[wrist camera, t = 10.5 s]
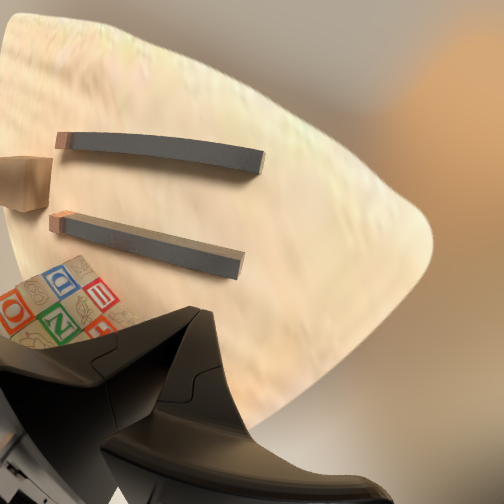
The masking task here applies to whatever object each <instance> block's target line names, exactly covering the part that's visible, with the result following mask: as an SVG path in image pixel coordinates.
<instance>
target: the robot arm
mask: <svg viewBox="0 0 504 504" xmlns="http://www.w3.org/2000/svg"><path fill="white" fill-rule="evenodd" d="M117 487H119V489H120V490H121V492H122V494H123V495H124V497H125V499H126V500H127V502H128V504H394V502H393V499H392V498H391V496H390V495H389V494H388V493H387V491H386V490H384V489H383V488H382V487H381V486H379V485H378V484H376V483H374V482H372V481H371V480H369V479H367V478H365V477H361V476H354V475H322V474H317V473H312V472H308V471H305V470H302V469H300V468H298V467H296V466H294V465H292V464H290V463H289V462H287V461H285V460H283V459H282V458H280V457H278V456H277V455H275V454H273V453H272V452H270V451H268V450H266V449H265V448H263V447H262V446H260V445H259V444H257V443H256V442H255V441H254V440H253V438H252V437H251V436H250V434H249V432H248V430H247V428H246V426H245V424H244V422H243V420H242V418H241V416H240V413H239V411H238V409H237V407H236V405H235V402H234V400H233V398H232V395H231V393H230V390H229V387H228V384H227V380H226V377H225V372H224V368H223V363H222V358H221V353H220V348H219V342H218V337H217V332H216V326H215V321H214V315H213V312H211V311H207V310H204V309H202V310H200V309H199V308H196V307H193V306H187V307H185V308H182V309H179V310H176V311H173V312H171V313H168V314H165V315H162V316H159V317H156V318H153V319H151V320H148V321H145V322H142V323H139V324H136V325H133V326H130V327H127V328H124V329H121V330H118V331H117V332H112V333H109V334H106V335H103V336H99V337H96V338H92V339H88V340H84V341H80V342H75V343H71V344H66V345H61V346H56V347H51V348H45V349H33V348H28V347H25V346H23V345H20V344H18V343H16V342H14V341H12V340H10V339H8V338H6V337H4V336H2V335H0V504H108V503H109V501H110V500H111V498H112V496H113V494H114V492H115V491H116V489H117Z"/></svg>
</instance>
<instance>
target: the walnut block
mask: <svg viewBox="0 0 504 504" xmlns="http://www.w3.org/2000/svg"><path fill="white" fill-rule="evenodd" d="M52 162H53V158H44V157H32V156H14V157H1V158H0V205H2V206H4V207H7V208H10V209H13V210H16V211H19V212H22V213H23V212H27V211H31V210H35V209H39V208H43V207H47V206H49V191H50V180H51V170H52Z"/></svg>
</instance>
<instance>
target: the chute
mask: <svg viewBox="0 0 504 504" xmlns="http://www.w3.org/2000/svg"><path fill="white" fill-rule="evenodd" d="M55 149H74V150H92V151H106V152H118V153H129V154H139V155H148V156H156V157H164V158H172V159H179V160H186V161H192V162H199V163H205V164H211V165H217V166H223V167H228V168H234V169H239V170H244V171H249V172H254V173H259V174H262V169H263V164H264V159H265V155H266V153H265V152H264V151H260V150H255V149H250V148H244V147H239V146H233V145H227V144H221V143H214V142H207V141H200V140H192V139H184V138H175V137H165V136H154V135H142V134H126V133H99V132H57V138H56V144H55ZM49 231H51V232H54V233H57V234H61V233H65V234H68V235H71V236H75V237H78V238H81V239H85V240H88V241H92V242H95V243H98V244H102V245H105V246H109V247H112V248H116V249H119V250H123V251H127V252H130V253H134V254H137V255H141V256H145V257H148V258H152V259H156V260H160V261H163V262H167V263H171V264H175V265H178V266H182V267H186V268H190V269H194V270H198V271H202V272H206V273H210V274H214V275H218V276H222V277H226V278H230V279H234V280H237V279H238V277H239V275H240V272H241V270H242V265H243V260H244V255H245V252H241V251H237V250H232V249H228V248H224V247H219V246H215V245H211V244H207V243H202V242H198V241H194V240H189V239H185V238H181V237H176V236H172V235H168V234H164V233H159V232H155V231H151V230H147V229H142V228H138V227H134V226H129V225H125V224H121V223H117V222H112V221H108V220H104V219H100V218H95V217H91V216H87V215H83V214H78V213H74V212H70V211H63V212H59V213H55V214H52V215H49Z"/></svg>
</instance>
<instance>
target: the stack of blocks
mask: <svg viewBox="0 0 504 504" xmlns="http://www.w3.org/2000/svg"><path fill="white" fill-rule="evenodd" d="M139 323H140V322H139V321H138V320H137V319H136V318H135V317H134V316H133V315H132V314H131V312H130V311H129V310H128V309H127V308H126V307H125V306H124V305H123V304H122V303H121V302H120V300H119V299H118V298H117V297H116V296H115V294H114V293H113V292H112V291H111V290H110V289H109V288H108V287H107V285H106V284H105V283H104V282H103V281H102V280H101V278H100V277H99V276H98V275H97V273H96V272H95V271H94V270H93V269H92V267H91V266H90V265H89V264H88V262H87V261H86V260H85V259H84V257H83V256H82V255H80V256H77V257H75V258H73V259H71V260H69V261H67V262H65V263H63V264H62V265H59V266H57V267H55V268H53V269H50V270H48V271H46V272H44V273H42V274H40V275H36V276H34V277H32V278H30V279H28V280H26V281H24V282H22V283H20V284H19V285H17V286H15V289H13V290H11V291H9V292H7V293H5V294H4V295H2V296H0V335H2V336H4V337H6V338H8V339H10V340H12V341H14V342H16V343H18V344H20V345H23V346H25V347H28V348H33V349H45V348H51V347H56V346H61V345H66V344H71V343H75V342H80V341H84V340H88V339H92V338H96V337H99V336H103V335H106V334H109V333H112V332H117V331H118V330H121V329H124V328H127V327H130V326H133V325H136V324H139Z"/></svg>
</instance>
